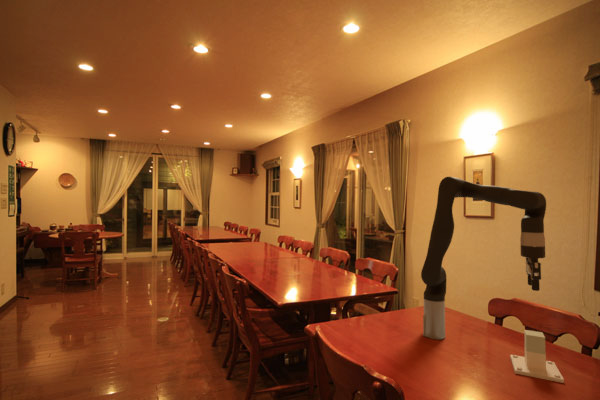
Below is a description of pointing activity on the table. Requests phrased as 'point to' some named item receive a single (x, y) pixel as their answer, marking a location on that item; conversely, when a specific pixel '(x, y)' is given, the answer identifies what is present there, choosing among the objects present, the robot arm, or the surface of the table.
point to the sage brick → (534, 341)
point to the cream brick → (535, 360)
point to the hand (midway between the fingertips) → (533, 287)
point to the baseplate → (549, 374)
